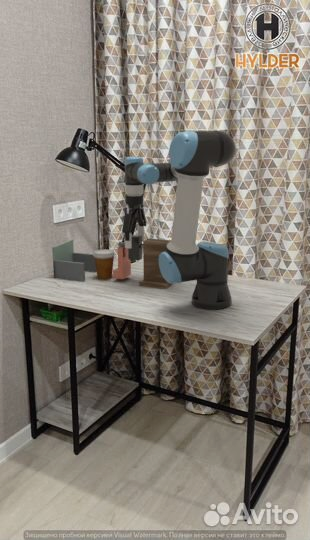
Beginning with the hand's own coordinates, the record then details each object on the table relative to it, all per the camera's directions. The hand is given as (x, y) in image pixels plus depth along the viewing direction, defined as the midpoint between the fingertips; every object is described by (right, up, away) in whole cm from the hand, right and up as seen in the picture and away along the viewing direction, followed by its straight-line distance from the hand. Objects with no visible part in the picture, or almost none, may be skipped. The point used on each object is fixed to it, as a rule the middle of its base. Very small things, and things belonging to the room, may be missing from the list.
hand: (134, 244), depth 227 cm
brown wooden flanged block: (+10, -17, +1) cm, 19 cm away
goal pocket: (-26, -13, +14) cm, 33 cm away
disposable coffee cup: (-14, -15, +10) cm, 22 cm away
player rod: (+6, -15, +2) cm, 16 cm away
